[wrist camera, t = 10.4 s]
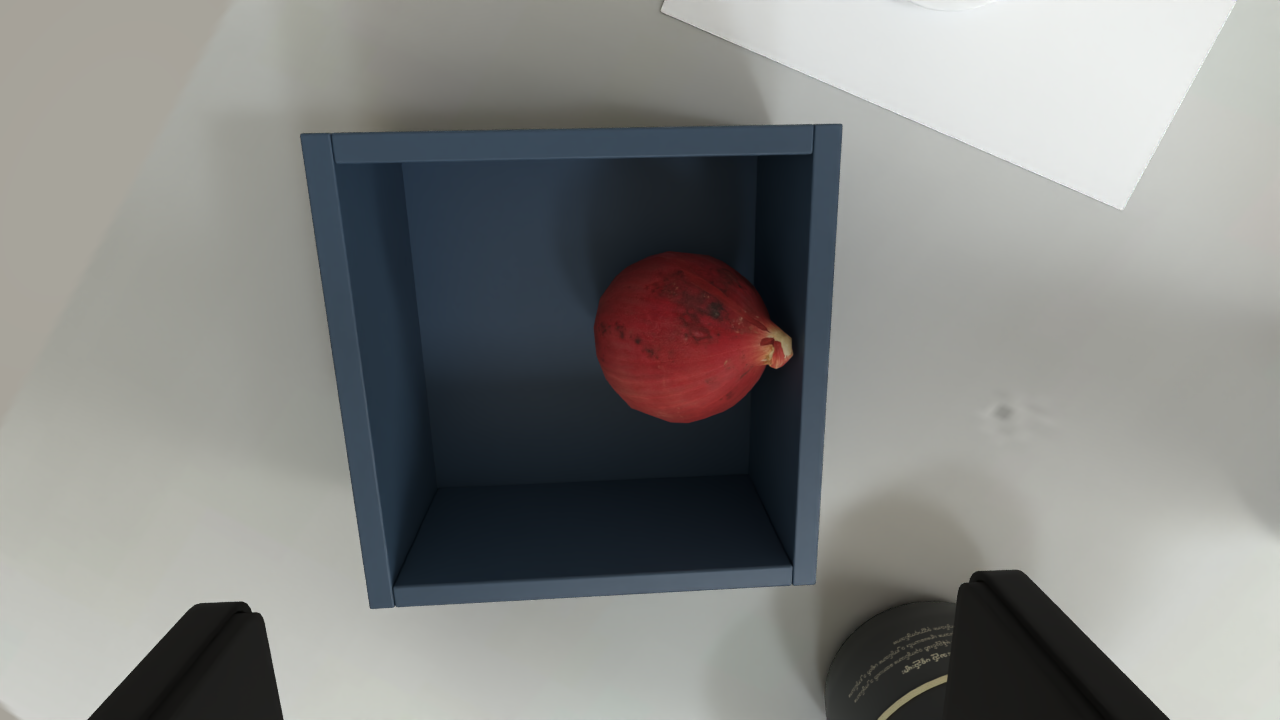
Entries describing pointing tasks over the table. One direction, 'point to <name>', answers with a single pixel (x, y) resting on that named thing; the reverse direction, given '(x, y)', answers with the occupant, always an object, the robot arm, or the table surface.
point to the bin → (567, 357)
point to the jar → (894, 666)
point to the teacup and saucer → (998, 70)
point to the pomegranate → (685, 336)
